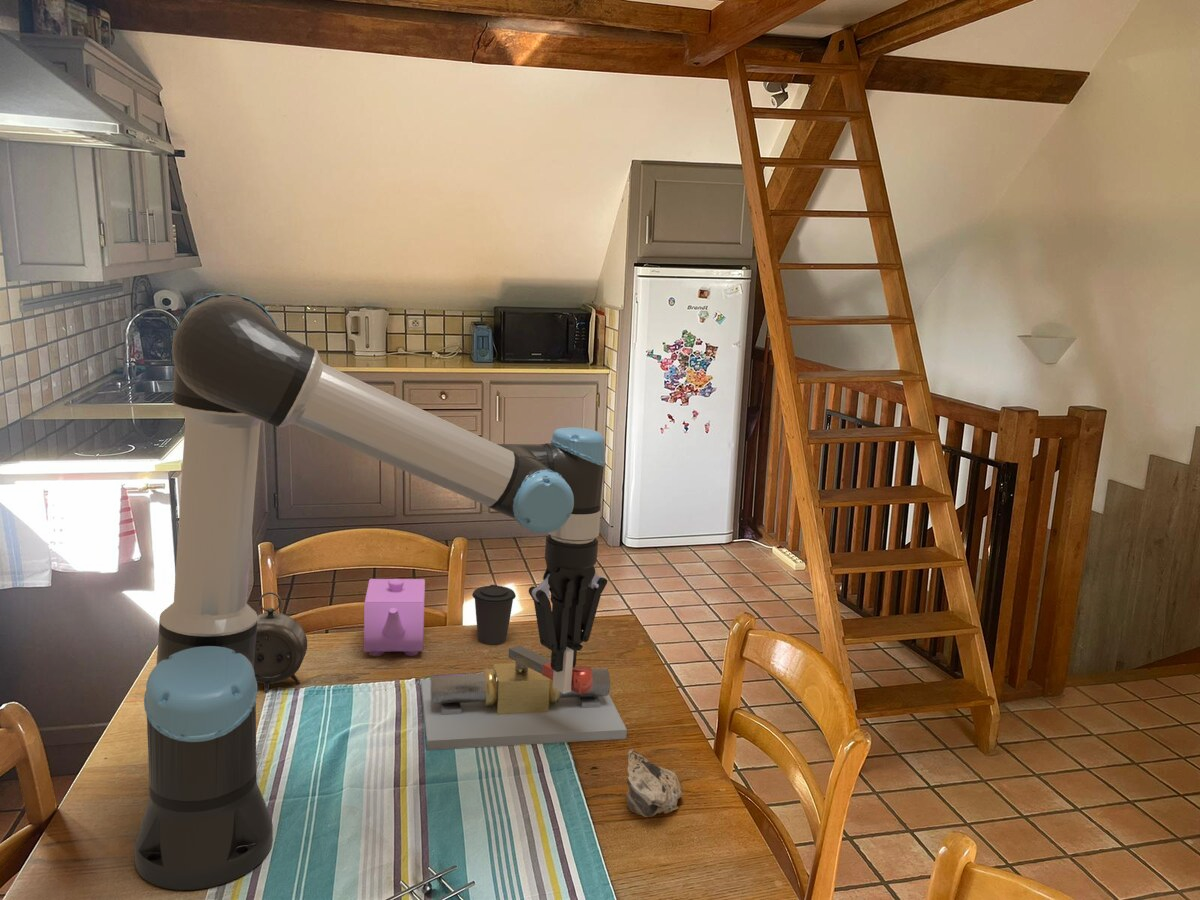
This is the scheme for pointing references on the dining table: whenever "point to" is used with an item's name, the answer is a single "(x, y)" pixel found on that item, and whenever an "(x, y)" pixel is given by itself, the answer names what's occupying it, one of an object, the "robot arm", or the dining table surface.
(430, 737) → the mount board
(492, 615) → the coffee cup
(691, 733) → the dining table surface
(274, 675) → the alarm clock
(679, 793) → the rock
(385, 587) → the pink toy block
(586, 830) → the dining table surface
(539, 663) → the lever
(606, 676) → the valve body
